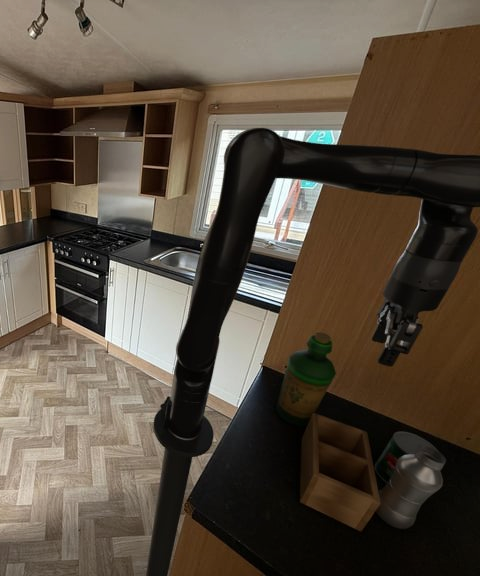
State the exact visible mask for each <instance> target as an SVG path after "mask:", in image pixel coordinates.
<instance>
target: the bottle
mask: <svg viewBox="0 0 480 576" xmlns="http://www.w3.org/2000/svg"><path fill="white" fill-rule="evenodd" d="M306 347H307V349H300V350H297V351H295V352H294V353H292V354H290V355H289V356H288V360H287V363H286V364H287V365H286V369H285V372H284V376H283V380H282V383H281V388H280V392H279V396H278V399H277V404H276V413H277V414H278V415H279V416H280V418H281V419H283V420H284V421H286V422H287V423H289V424H291V425H295V426H298V427H303V426H307V425H308V423H309V421H310V419H311V416H312V414H313V413H315V414H316V411H317V410H318V408H319V406H320V404H321V402H322V400H323V398H324V396H325V394H326V393H327V391H328V389H329V387H330V386H331V384H332V382H333V380H334V379H335V377H336V375H337V371H336V368H335V366H334V363H333V361H332V360H330V359H329V358H328V357H327V355H328V354H329V355H330V354H331V353H332V350H333V342H332V339H331V336H330V335H329V334H327V333H324V332H316V333H314V334H313V335H311V336H310V337H309V339H308V340H307V341H306Z"/></svg>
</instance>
